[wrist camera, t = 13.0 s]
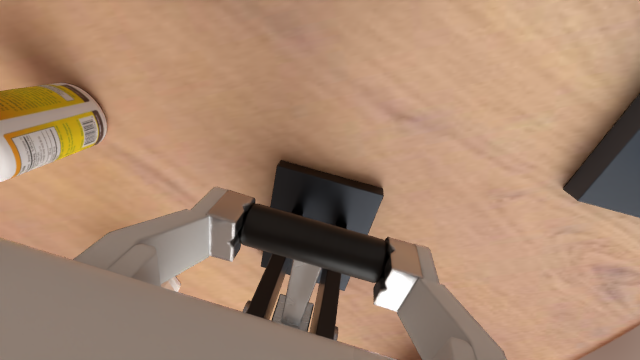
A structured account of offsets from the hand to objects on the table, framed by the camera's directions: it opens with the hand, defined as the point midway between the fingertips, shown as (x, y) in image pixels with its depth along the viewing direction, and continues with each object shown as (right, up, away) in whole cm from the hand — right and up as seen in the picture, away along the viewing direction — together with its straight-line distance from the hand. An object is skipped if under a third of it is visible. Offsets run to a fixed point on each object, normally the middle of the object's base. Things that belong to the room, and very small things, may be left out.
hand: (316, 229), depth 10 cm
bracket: (0, -3, +15) cm, 16 cm away
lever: (-1, -3, +4) cm, 5 cm away
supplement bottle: (-21, +8, +14) cm, 27 cm away
